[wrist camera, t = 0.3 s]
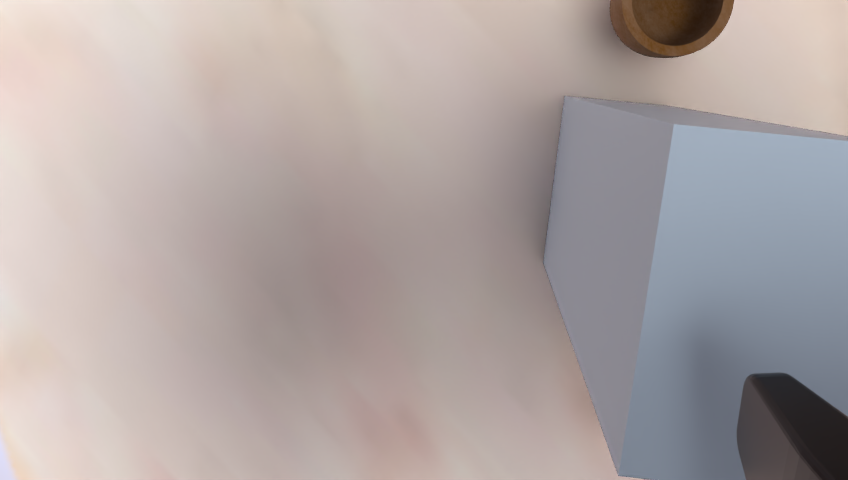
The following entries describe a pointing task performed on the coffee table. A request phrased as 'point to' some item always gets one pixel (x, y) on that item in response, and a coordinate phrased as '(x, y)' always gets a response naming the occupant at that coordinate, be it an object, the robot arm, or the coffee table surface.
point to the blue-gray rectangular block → (695, 273)
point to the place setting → (669, 24)
